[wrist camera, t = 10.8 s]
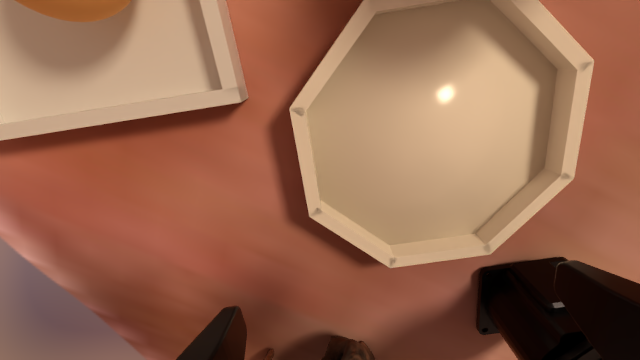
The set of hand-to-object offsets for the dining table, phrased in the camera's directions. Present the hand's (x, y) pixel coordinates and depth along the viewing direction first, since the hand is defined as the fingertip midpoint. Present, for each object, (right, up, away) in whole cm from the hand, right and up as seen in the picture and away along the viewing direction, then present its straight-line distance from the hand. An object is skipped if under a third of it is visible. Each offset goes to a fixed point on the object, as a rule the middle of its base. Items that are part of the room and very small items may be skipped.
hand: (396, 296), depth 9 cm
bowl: (+5, +6, +11) cm, 13 cm away
